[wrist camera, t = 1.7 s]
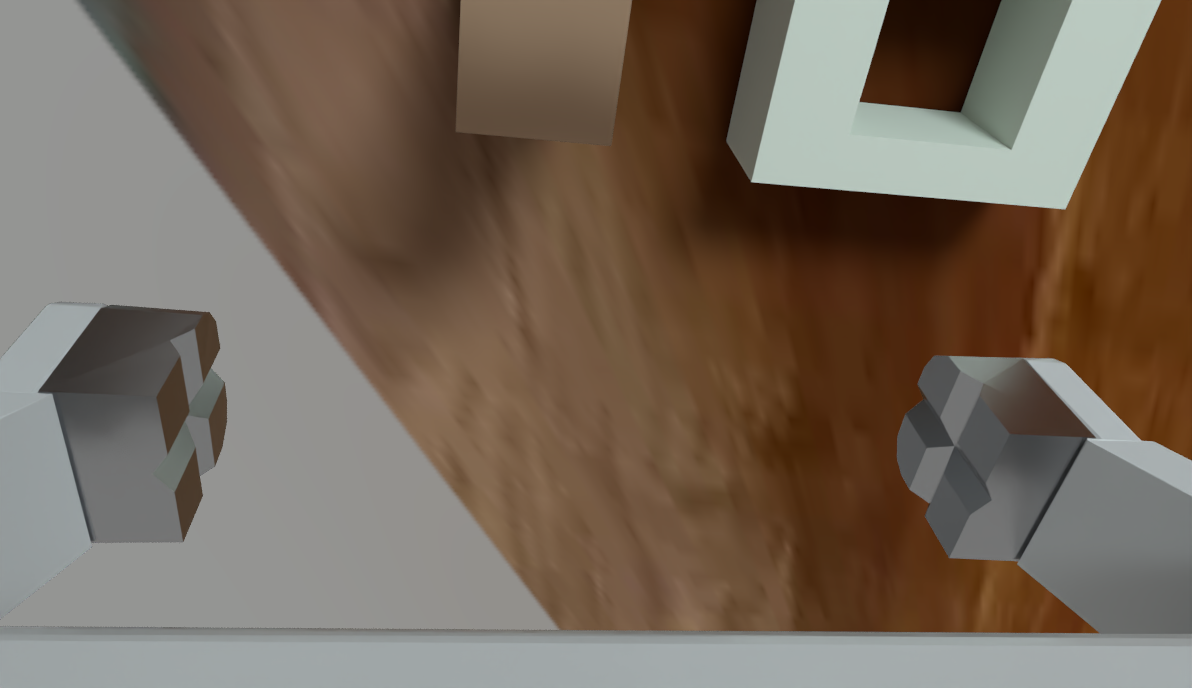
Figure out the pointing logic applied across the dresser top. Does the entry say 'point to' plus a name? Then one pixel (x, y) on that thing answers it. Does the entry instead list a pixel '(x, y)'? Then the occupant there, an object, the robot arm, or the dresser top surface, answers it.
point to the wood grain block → (541, 68)
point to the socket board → (923, 136)
